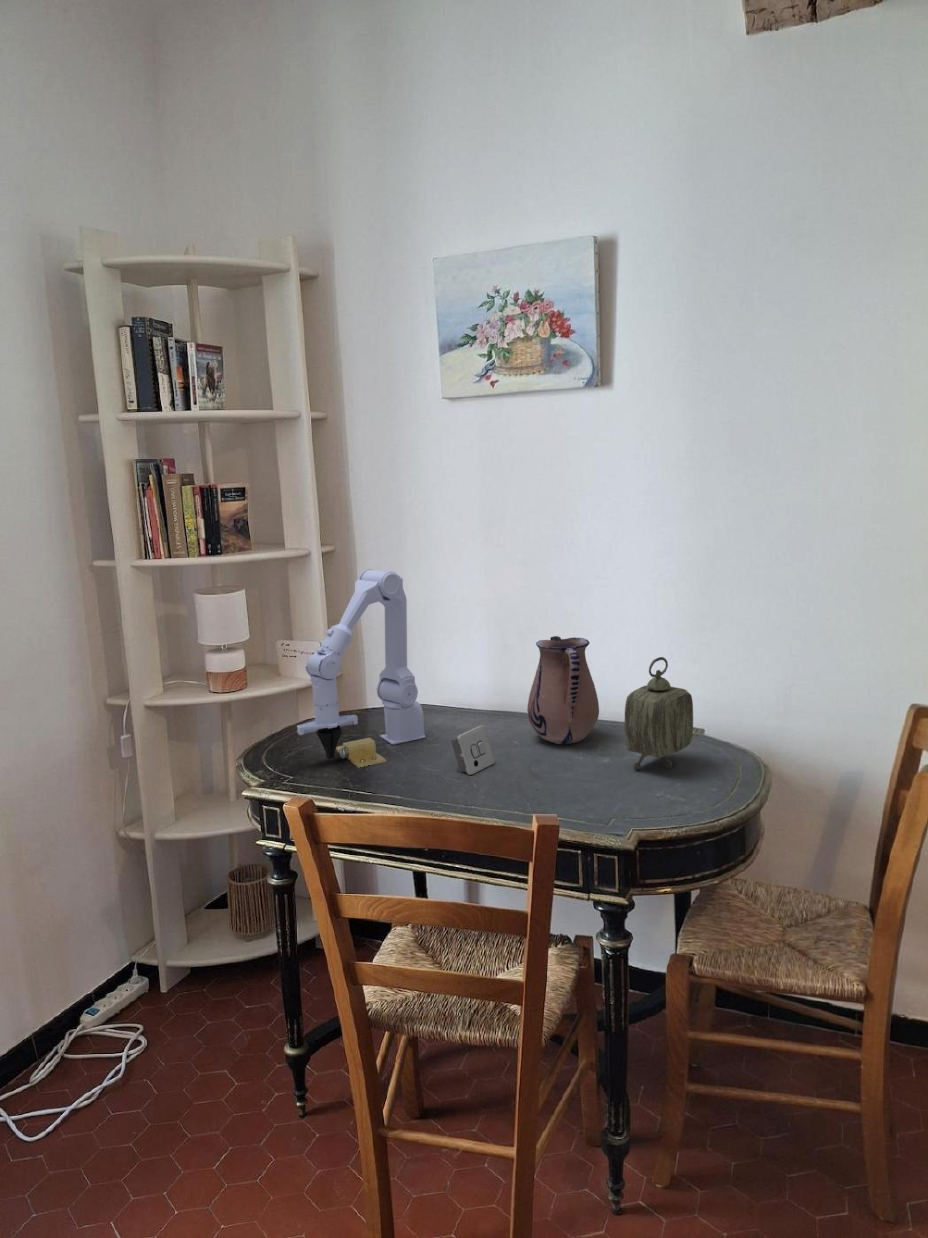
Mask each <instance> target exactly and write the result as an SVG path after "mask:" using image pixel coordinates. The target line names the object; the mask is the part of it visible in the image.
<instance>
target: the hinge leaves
mask: <svg viewBox="0 0 928 1238" xmlns="http://www.w3.org/2000/svg"><path fill="white" fill-rule="evenodd" d="M375 744H376V741H375V740H374V739H373V738H371V737H366V738H365V737H364V738H361V739H356V740H351V741H347V742H342V745H340V746H339V745H337V746H336V750H337V751H336V752H338V753H339V754H340V748H342V747H344V748H345V749H347V751H348V755H346V758H347V760H348V761H349V760H350V761H351V762H350V761H349V762H350V763H351V764H353V765H354V766H355V765H356V767H357V768H358V769H360V767H361V768H364V766H365V767H369V766H368V765H370V766H374V765H379V764H382V763H387V760H386V758H384V757H383V756H382V755H380V754H379V753H377V747H376V748H375ZM346 758H345V759H346Z"/></svg>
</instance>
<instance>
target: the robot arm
mask: <svg viewBox="0 0 928 1238" xmlns="http://www.w3.org/2000/svg"><path fill="white" fill-rule="evenodd" d="M403 581H404V580H403V578H402V577H401V576H400V575H399V574H397V573H396V572H395V571H392V570H389V571H386V570H375V569H371V568H369V569H368V568H367V569H364V570H363V571H361V573H360V575H359V577H358V579H357V580H356V581H355V583H354V592H353V594H352V596H351V598H350V601H349V602H348V604H347V607H346V609H345V611H344V612H343V615H342V617H341V619H340V621H339V623H338V624H334V625H332V626H331V627H330V628H328V629H327V631H326V636H325V638H324V639H323V641H322V643H321V645H320V646H319V647H318V648H317V650H316V652H315V653H313V654H311V655H310V656H309V658H308V660H307V664H306V665H305V671H306V673H307V674H308V675H309V676H310V682H311V685H312V698H313V709H314V710H313V711H314V720H311V721H308V722H305V723H302V724H299V725H298V724H297V726H296V729H297V734H298V735H299V736H304V735H305V734H309V733H313V732H314V733H315V734H316V735H317V737H318V738H319V740H320V742H321V744H322V747H323V749H324V752H325V756H326V758H327V759H328V760H332V759H335V757H336V752H337V751H336V747H338V743H339V740H340V738H341V735H342V733H343V730H342V728H341V727H344V726H349V725H358V724H359V723H358V722H359V721H358V720H359V718H358V715H356V714H348V715H340V709H339V697H338V685H337V684H338V683H337V677H338V675H339V674H340V672H341V668H342V666H341V663H342V661H343V658H342V657H343V656H344V655H345V652H346V651H347V649H348V647H349V646H350V644H351V642H352V641H353V639H354V637H353V634H352V631H353V630H354V628H355V626H356V625H357V623H358V621H360V619H361V617H363V616H362V615H363V614H364V613H365V611H366V610H367V608H368V607H369V605H372V604H375V603H378V602H379V603H380V604H381V605H383V607H384V654H385V656H384V661H385V664H384V665H385V667H384V669H382V671H381V672H379V680H378V684H377V686H376V695H377V697H378V698H379V700H381V702H382V705H383V711H384V727H385V734H380V738H381V739H383V740H385V741H386V742H387V743H389V744H391V745H397V744H403V743H407V742H412V741H416V740H421V739H425V738H426V734H425V724H424V723H425V722H424V712H423V708H422V705H421V704H420V702H418V701H416V700H417V698H418V691H419V690H418V686H417V684H416V679H415V674H414V673H412V672H411V670H410V669H409V667H408V638H407V637H408V633H407V632H408V629H407V628H408V622H407V621H408V617H407V616H408V615H407V611H408V609H407V606H408V605H407V596H406V594H405V590H404V585H403V584H404V582H403Z"/></svg>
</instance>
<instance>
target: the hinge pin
mask: <svg viewBox="0 0 928 1238" xmlns="http://www.w3.org/2000/svg"><path fill="white" fill-rule="evenodd" d="M375 748H376V749H377V745H376V743H375ZM346 755H348V751H347V749H345V748H344V747H342V748H340V753H339V756H340V758H341V759H346Z"/></svg>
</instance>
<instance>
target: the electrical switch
mask: <svg viewBox="0 0 928 1238" xmlns="http://www.w3.org/2000/svg"><path fill="white" fill-rule="evenodd" d="M450 741H451V745H452V749H453V751H454V755H455V760H456V762H457V766H458V769H459V772H460V773H467V774H468V776H470V775H474V774H476V773H478V772H479V771H482V770H484V769H486V768H488V767H491V765H494V764H495V757H494V754H493V750H492V746H491V743H490V739H489V736H488V733H487V730H486V726H484V725H479V726H476V727H474V728H472V729H470V730H467V731H466V732H464V733H463V732H462V733H461V734H458V735H457V737H454V738H452V739H451V740H450Z"/></svg>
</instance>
